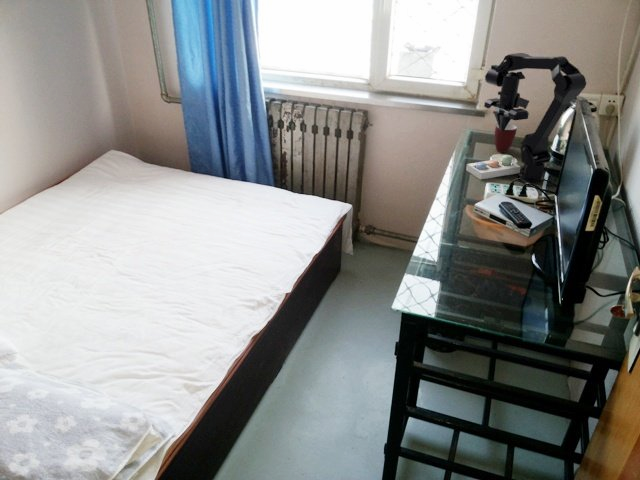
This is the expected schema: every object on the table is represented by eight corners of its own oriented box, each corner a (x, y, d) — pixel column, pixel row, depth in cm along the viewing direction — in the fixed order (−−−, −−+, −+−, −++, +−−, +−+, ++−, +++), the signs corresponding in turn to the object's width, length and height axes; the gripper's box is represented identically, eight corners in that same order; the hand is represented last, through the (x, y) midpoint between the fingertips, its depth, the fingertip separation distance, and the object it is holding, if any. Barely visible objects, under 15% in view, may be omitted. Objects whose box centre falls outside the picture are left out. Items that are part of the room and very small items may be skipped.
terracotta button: (499, 170, 191) (501, 163, 189) (491, 172, 190) (493, 164, 188) (494, 167, 194) (495, 159, 192) (485, 168, 193) (487, 161, 191)
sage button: (513, 165, 192) (514, 157, 190) (504, 166, 191) (506, 158, 189) (507, 161, 195) (508, 154, 193) (498, 163, 194) (500, 155, 192)
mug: (492, 144, 217) (496, 120, 212) (512, 146, 215) (517, 122, 210) (491, 152, 209) (495, 128, 204) (512, 155, 206) (516, 130, 201)
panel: (519, 172, 191) (520, 166, 190) (480, 179, 186) (481, 173, 185) (504, 164, 198) (505, 158, 197) (466, 170, 193) (467, 163, 192)
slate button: (487, 172, 189) (488, 165, 188) (478, 174, 188) (480, 166, 187) (481, 169, 192) (482, 161, 191) (473, 170, 191) (474, 163, 190)
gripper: (545, 94, 181) (536, 136, 189) (511, 81, 197) (504, 121, 205) (519, 97, 178) (510, 140, 186) (486, 84, 193) (480, 124, 201)
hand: (501, 131), depth 195 cm, fingers closed
